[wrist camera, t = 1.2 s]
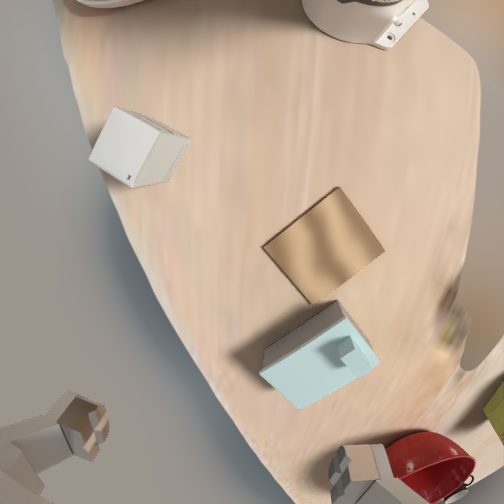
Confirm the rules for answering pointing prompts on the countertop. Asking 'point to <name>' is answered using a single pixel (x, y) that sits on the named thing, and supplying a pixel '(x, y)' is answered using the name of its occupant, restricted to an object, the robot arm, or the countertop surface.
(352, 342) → the lid
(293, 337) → the tub
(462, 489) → the coffee mug
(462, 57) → the countertop surface
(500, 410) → the protein box
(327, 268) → the mat
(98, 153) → the supplement box
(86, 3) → the bowl
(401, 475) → the mixing bowl
